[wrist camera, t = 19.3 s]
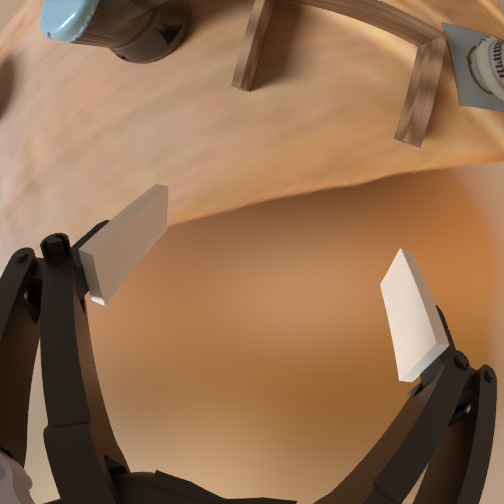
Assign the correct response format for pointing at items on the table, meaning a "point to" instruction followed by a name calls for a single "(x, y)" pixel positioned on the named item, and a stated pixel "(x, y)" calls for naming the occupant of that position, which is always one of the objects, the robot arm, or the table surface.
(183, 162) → the table surface
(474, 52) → the apothecary jar
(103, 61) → the table surface
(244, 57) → the walnut u-shaped frame
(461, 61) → the rubber mat
